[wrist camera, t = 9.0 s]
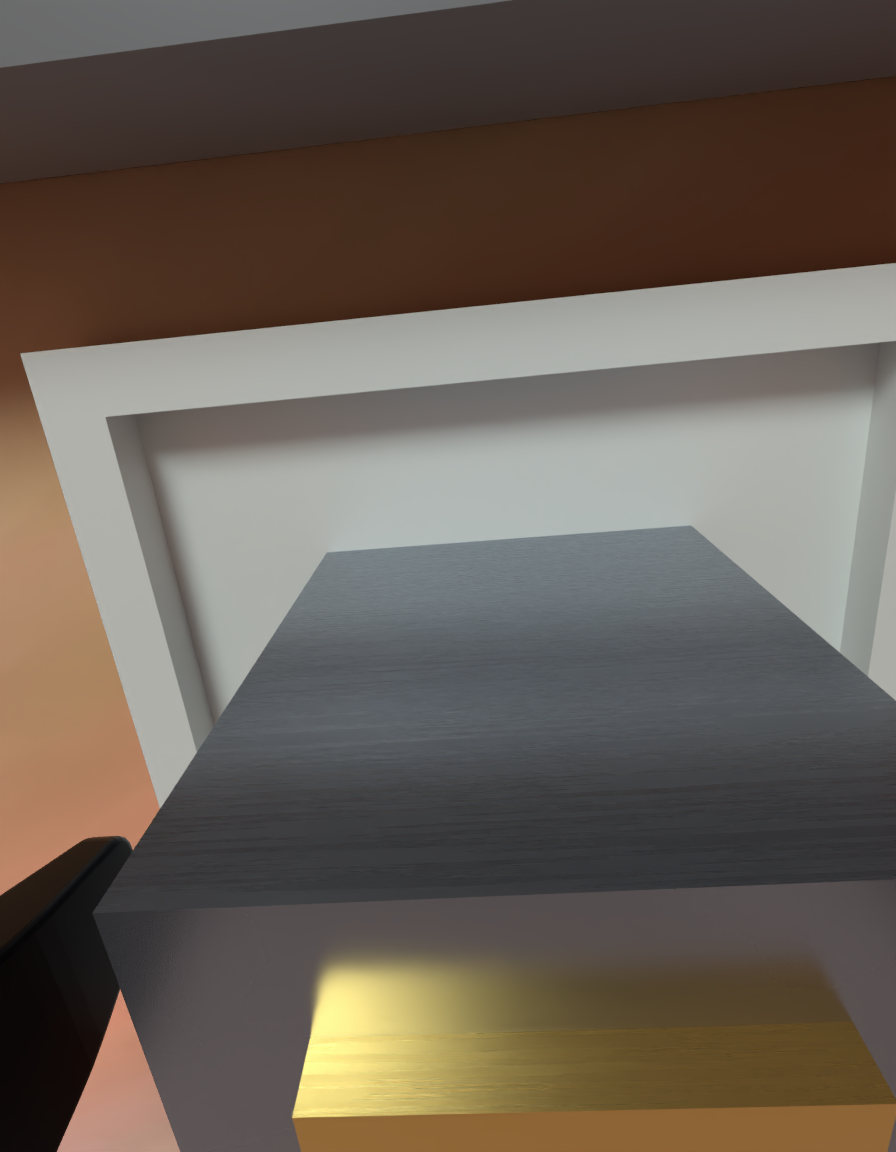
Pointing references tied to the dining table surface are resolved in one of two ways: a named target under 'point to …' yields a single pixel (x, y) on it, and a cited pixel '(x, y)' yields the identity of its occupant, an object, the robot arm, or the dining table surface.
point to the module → (526, 868)
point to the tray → (474, 460)
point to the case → (386, 68)
